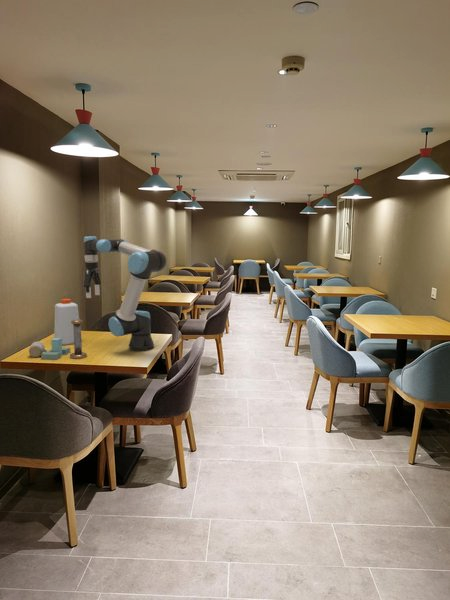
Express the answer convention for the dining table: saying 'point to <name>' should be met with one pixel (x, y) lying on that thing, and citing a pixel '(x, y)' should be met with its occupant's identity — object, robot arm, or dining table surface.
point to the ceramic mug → (37, 349)
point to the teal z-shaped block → (55, 354)
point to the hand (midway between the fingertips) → (93, 296)
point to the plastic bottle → (65, 321)
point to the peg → (56, 345)
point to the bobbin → (77, 340)
